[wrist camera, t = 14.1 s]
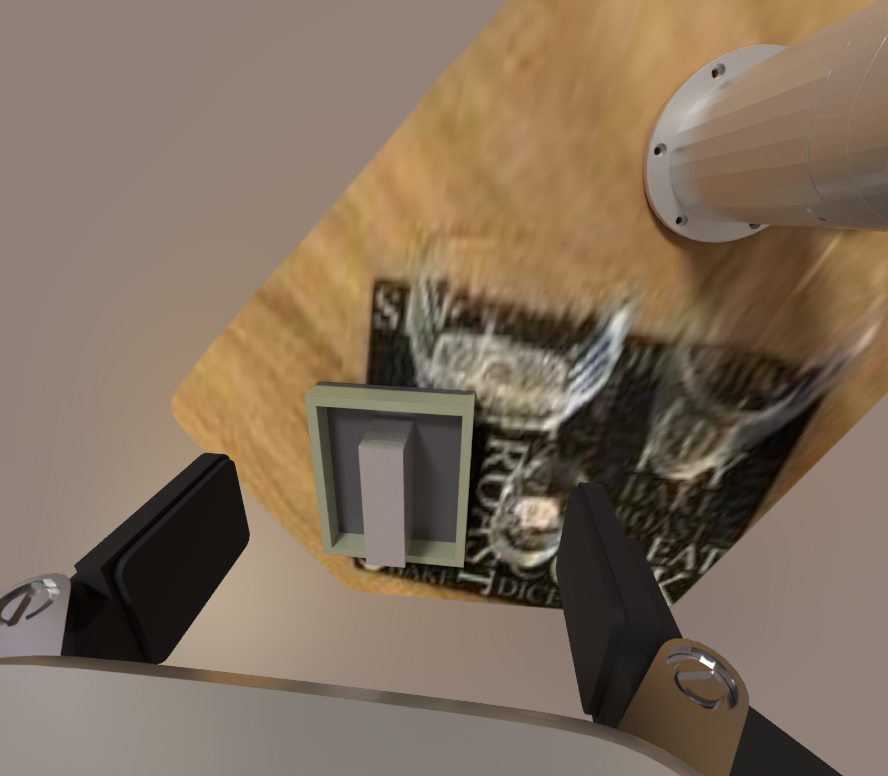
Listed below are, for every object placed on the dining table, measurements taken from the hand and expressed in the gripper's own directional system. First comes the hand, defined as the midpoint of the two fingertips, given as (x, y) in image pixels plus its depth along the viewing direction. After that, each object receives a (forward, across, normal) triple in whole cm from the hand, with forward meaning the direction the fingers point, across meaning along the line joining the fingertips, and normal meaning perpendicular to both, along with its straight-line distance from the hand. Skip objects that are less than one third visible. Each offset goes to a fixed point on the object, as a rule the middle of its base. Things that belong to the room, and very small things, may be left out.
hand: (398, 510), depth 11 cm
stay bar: (+27, +6, +19) cm, 34 cm away
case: (+28, +6, +19) cm, 35 cm away
